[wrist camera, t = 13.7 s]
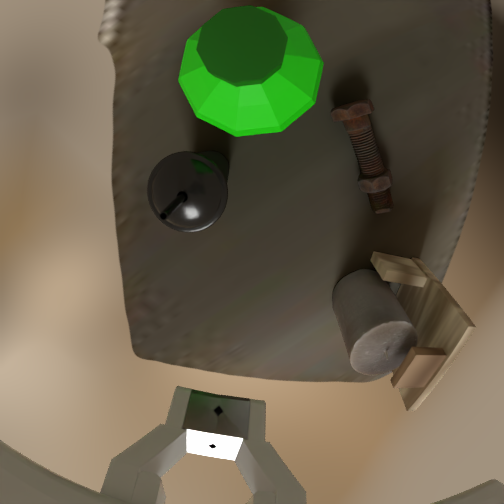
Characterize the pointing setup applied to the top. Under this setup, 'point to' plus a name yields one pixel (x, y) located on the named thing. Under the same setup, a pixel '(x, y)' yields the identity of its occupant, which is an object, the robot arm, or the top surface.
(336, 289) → the pillar candle
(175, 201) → the drinking cup
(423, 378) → the cradle
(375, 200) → the bolt
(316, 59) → the plastic bottle
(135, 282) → the top surface
